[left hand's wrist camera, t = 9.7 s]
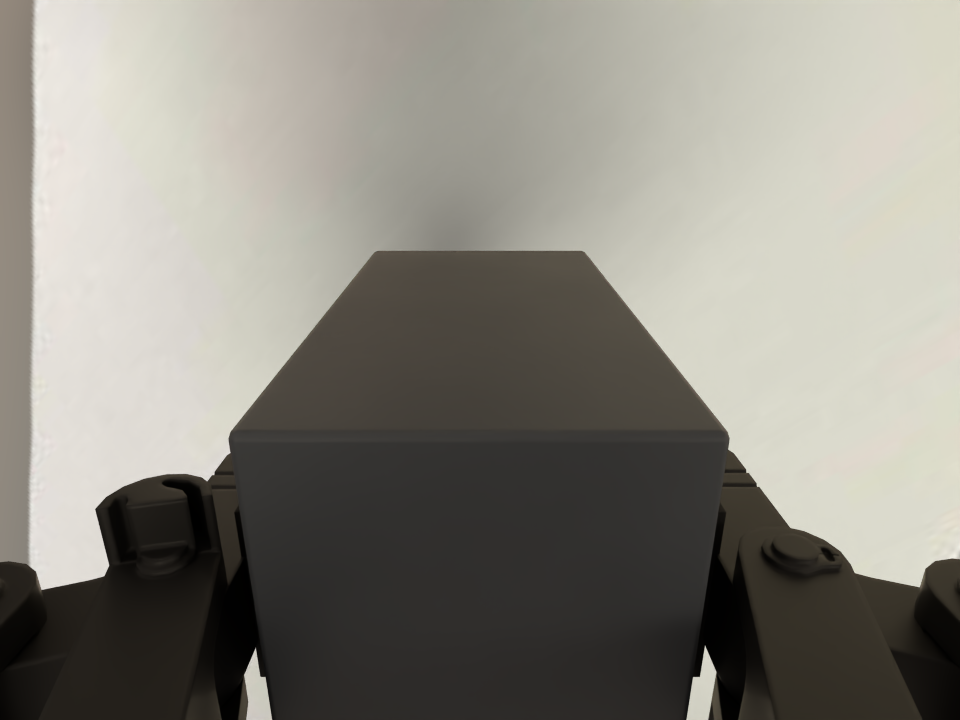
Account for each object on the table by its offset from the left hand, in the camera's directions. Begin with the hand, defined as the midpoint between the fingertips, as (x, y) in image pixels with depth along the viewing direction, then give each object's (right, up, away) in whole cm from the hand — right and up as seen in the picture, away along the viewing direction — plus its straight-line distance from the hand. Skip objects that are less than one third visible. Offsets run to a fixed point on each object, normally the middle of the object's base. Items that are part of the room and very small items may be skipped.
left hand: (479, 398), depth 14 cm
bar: (0, -10, +5) cm, 11 cm away
